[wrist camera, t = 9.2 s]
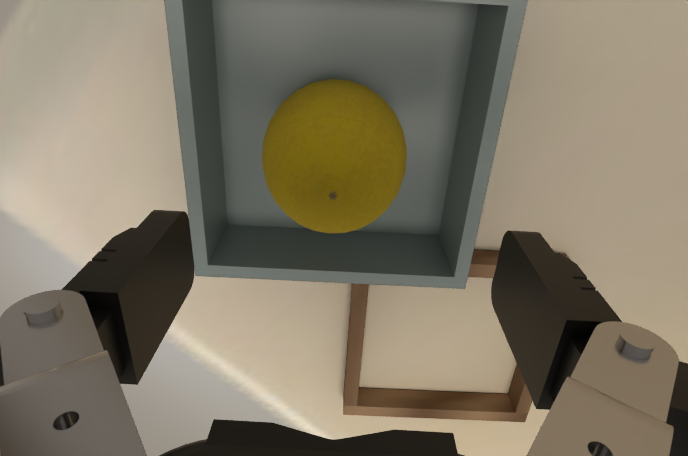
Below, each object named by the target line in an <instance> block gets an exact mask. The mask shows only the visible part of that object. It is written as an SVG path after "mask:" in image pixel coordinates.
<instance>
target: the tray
mask: <svg viewBox="0 0 688 456" xmlns="http://www.w3.org/2000/svg"><path fill="white" fill-rule="evenodd" d="M499 252H500V251H490V250H473V255H472V259H471V264H470V269H469V273H468V277H483V278H494V273H495V269H496V265H497V261H498V257H499ZM562 255H564V256H565V257H567V258H568V259H569V257H568V256H567V255H566V254H562ZM368 287H369V284H354V283H352V291H351V304H350V317H349V330H348V343H347V356H346V369H345V382H344V395H343V415H366V416H390V417H414V418H438V419H462V420H486V421H510V422H525V421H526V418H527V415H528V412H529V409H530V406H531V403H532V398H531V395H530V393H529V391H528V388H527V386H526V384H525V381H524V379H523V376H522V374H521V372H520V369H519V367H518V365H517V367H516V370H515V373H514V376H513V380H512V383H511V386H510V389H509V393H508V394H493V393H469V392H446V391H423V390H399V389H376V388H359V379H360V369H361V358H362V348H363V338H364V328H365V317H366V307H367V297H368Z"/></svg>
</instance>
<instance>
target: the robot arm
mask: <svg viewBox="0 0 688 456" xmlns="http://www.w3.org/2000/svg"><path fill="white" fill-rule="evenodd" d="M193 279H194V258H193V250H192V241H191V233H190V224H189V218H188V215H187V214H186V212H181V211H164V210H154V211H152V212H151V213H150V214H149V215H148V216H147V218H146V219H145V220H144V221H143V222H142V223H141V224H140V225H139V226H138V227H137V228H130V229H128V230H126V231H124V232H122V233H120V234H119V235H117V236H115V237H113V238H112V239H111V240H110V241H109V242H108V243H107V244H106V245H105V246H104V247H103V248H102V251H99V252H98V253H97V254H96V255H95V256H94V257H93V258H92V261H89V262H88V263H87V264H86V265H85V267H84V268H83V269H82V270H81V271H80V272H79V273H78V274H77V275H76V276H75V277H74V278H73V279H72V280H71V281H70V282H69V283H68V284H67V285H66V286H65V287H64V288H63V289H62V290H53V291H46V292H42V293H38V294H35V295H31V296H29V297H26V298H24V299H22V300H20V301H18V302H16V303H15V304H13V305H12V306H11V307H9V308H8V309H7V310H6V311H5V312H4V313H3V314H2V316H1V317H0V456H147V455H146V452H145V449H144V447H143V444H142V441H141V439H140V436H139V434H138V431H137V428H136V425H135V423H134V420H133V417H132V415H131V412H130V409H129V407H128V404H127V401H126V399H125V396H124V394H123V391H122V388H121V385H120V384H136V385H137V384H138V383H139V381H140V379H141V377H142V376H143V373H144V372H145V370H146V368H147V367H148V365H149V363H150V361H151V359H152V358H153V356H154V354H155V352H156V350H157V349H158V347H159V345H160V343H161V341H162V340H163V338H164V336H165V334H166V332H167V331H168V329H169V327H170V325H171V323H172V322H173V320H174V318H175V316H176V314H177V313H178V311H179V309H180V307H181V306H182V304H183V302H184V300H185V298H186V297H187V295H188V293H189V291H190V289H191V287H192V284H193ZM491 298H492V304H493V308H494V310H495V313H496V315H497V317H498V320H499V322H500V324H501V327H502V329H503V331H504V334H505V336H506V339H507V341H508V343H509V346H510V348H511V350H512V353H513V355H514V357H515V360H516V362H517V365H518V367H519V369H520V372H521V374H522V376H523V379H524V381H525V384H526V386H527V388H528V391H529V393H530V395H531V398H532V400H533V402H534V405H535V407H536V409H548V410H550V411H549V413H548V415H547V417H546V419H545V421H544V423H543V425H542V426H541V428H540V430H539V432H538V434H537V436H536V438H535V440H534V442H533V444H532V446H531V448H530V450H529V452H528V454H527V456H688V364H687V363H683V362H680V361H679V359H678V356H677V354H676V352H675V350H674V349H673V348H672V347H671V346H670V345H669V344H668V343H667V342H666V341H665V340H663V339H662V338H661V337H659V336H657V335H656V334H654V333H652V332H650V331H649V330H646V329H644V328H642V327H639V326H636V325H633V324H629V323H624V322H622V321H621V320H620V319H619V317H618V316H617V315H616V313H615V312H614V311H613V310H612V308H611V307H610V306H609V305H608V303H607V302H606V301H605V300H604V298H603V297H602V296H601V294H600V293H599V292H598V291H595V287H594V286H593V284H592V283H591V282H590V281H589V280H587V277H586V275H585V274H584V273H583V272H582V270H581V269H580V268H579V267H578V265H577V264H575V263H574V262H572V261H571V260H570V259H568V258H567V257H565V256H564V255H562V254H561V253H554V251H553V250H552V249H551V247H550V246H549V245H548V243H547V242H546V241H545V239H544V238H543V237H542V235H541V234H540V233H538V232H522V231H507V232H506V233H505V235H504V237H503V240H502V244H501V248H500V252H499V257H498V261H497V265H496V269H495V273H494V278H493V282H492V289H491ZM160 456H464V455H461V454H457V449H456V444H455V439H454V435H453V433H442V432H424V431H407V430H390V431H384V432H379V433H373V434H367V435H361V436H356V437H350V438H344V439H337V440H331V439H326V438H323V437H319V436H316V435H312V434H309V433H306V432H302V431H299V430H295V429H292V428H289V427H285V426H282V425H278V424H275V423H267V422H250V421H233V420H231V421H230V420H215V419H214V421H213V423H212V426H211V430H210V433H209V435H208V438H207V439H206V440H201V441H197V442H193V443H189V444H186V445H183V446H180V447H178V448H175V449H173V450H170V451H168V452H166V453H164V454H162V455H160Z"/></svg>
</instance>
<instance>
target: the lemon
mask: <svg viewBox="0 0 688 456" xmlns="http://www.w3.org/2000/svg"><path fill="white" fill-rule="evenodd" d="M406 158H407V148H406V143H405V137H404V132H403V129H402V127H401V125H400V122H399V120H398V118H397V116H396V114H395V112H394V111H393V110H392V108H391V107H390V106H389V105H388V104H387V103H386V101H385V100H384V99H383V98H382V97H381V96H380V95H378V94H377V93H375V92H374V91H372V90H371V89H369V88H368V87H367V86H364V85H361V84H358V83H355V82H352V81H350V80H338V79H328V80H322V81H317V82H312V83H310V84H308V85H306V86H304V87H302V88H300V89H298V90H296V91H295V92H294V93H293V94H291V95H290V96H289V97H288V98H287V99H286V100H284V101H283V102H282V103H281V105H280V106H279V108H278V109H277V110H276V112H275V113H274V115H273V116H272V118H271V119H270V122H269V124H268V127H267V130H266V133H265V136H264V139H263V152H262V165H263V170H264V175H265V180H266V184H267V186H268V188H269V190H270V192H271V194H272V196H273V198H274V200H275V202H276V203H277V204H278V206H279V207H280V208H281V209H282V210H283V211H284V213H285V214H286V215H287V216H289V217H290V218H291V219H293V220H294V221H295V222H297V223H298V224H300V225H302V226H304V227H306V228H309V229H311V230H313V231H318V232H324V233H346V232H350V231H354V230H357V229H360V228H362V227H364V226H366V225H368V224H370V223H371V222H373V221H375V220H376V219H377V218H378V217H379V216H380V215H381V214H383V213H384V212H385V211H386V210H387V209H388V207H389V206H390V205H391V203H392V202H393V200H394V199H395V197H396V196H397V194H398V192H399V189H400V187H401V184H402V181H403V178H404V175H405V171H406Z"/></svg>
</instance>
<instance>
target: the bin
mask: <svg viewBox="0 0 688 456" xmlns="http://www.w3.org/2000/svg"><path fill="white" fill-rule="evenodd" d="M527 1H528V0H164V3H165V12H166V21H167V30H168V39H169V47H170V56H171V65H172V74H173V83H174V91H175V100H176V109H177V118H178V127H179V136H180V144H181V153H182V162H183V171H184V180H185V188H186V197H187V206H188V215H189V224H190V232H191V241H192V250H193V258H194V268H195V276H209V277H230V278H251V279H271V280H292V281H313V282H334V283H354V284H375V285H396V286H417V287H438V288H458V289H465V287H466V283H467V278H468V273H469V269H470V264H471V259H472V255H473V250H474V246H475V241H476V236H477V232H478V227H479V223H480V218H481V213H482V209H483V204H484V199H485V195H486V190H487V186H488V181H489V176H490V172H491V167H492V163H493V158H494V153H495V149H496V144H497V139H498V135H499V130H500V126H501V121H502V116H503V112H504V107H505V103H506V98H507V93H508V89H509V84H510V79H511V75H512V70H513V66H514V61H515V56H516V52H517V47H518V42H519V38H520V33H521V29H522V24H523V19H524V15H525V10H526V6H527ZM328 79H338V80H350V81H352V82H355V83H358V84H361V85H364V86H367V87H368V88H369V89H371V90H372V91H374V92H375V93H377V94H378V95H380V96H381V97H382V98H383V99H384V100H385V101H386V103H387V104H388V105H389V106H390V107H391V108H392V110H393V111H394V112H395V114H396V116H397V118H398V120H399V122H400V125H401V127H402V129H403V132H404V137H405V143H406V148H407V158H406V171H405V175H404V178H403V181H402V184H401V187H400V189H399V192H398V194H397V196H396V197H395V199H394V200H393V202H392V203H391V205H390V206H389V207H388V209H387V210H386V211H385V212H384V213H383V214H381V215H380V216H379V217H378V218H377V219H376V220H375V221H373V222H371V223H370V224H368V225H366V226H364V227H362V228H360V229H357V230H354V231H350V232H346V233H324V232H318V231H313V230H311V229H309V228H306V227H304V226H302V225H300V224H298V223H297V222H295V221H294V220H293V219H291V218H290V217H289V216H287V215H286V214H285V213H284V211H283V210H282V209H281V208H280V207H279V206H278V204H277V203H276V202H275V200H274V198H273V196H272V194H271V192H270V190H269V188H268V186H267V184H266V180H265V175H264V170H263V165H262V152H263V139H264V136H265V133H266V130H267V127H268V124H269V122H270V119H271V118H272V116H273V115H274V113H275V112H276V110H277V109H278V108H279V106H280V105H281V103H282V102H283V101H284V100H286V99H287V98H288V97H289V96H290V95H291V94H293V93H294V92H295V91H296V90H298V89H300V88H302V87H304V86H306V85H308V84H310V83H312V82H317V81H322V80H328Z"/></svg>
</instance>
